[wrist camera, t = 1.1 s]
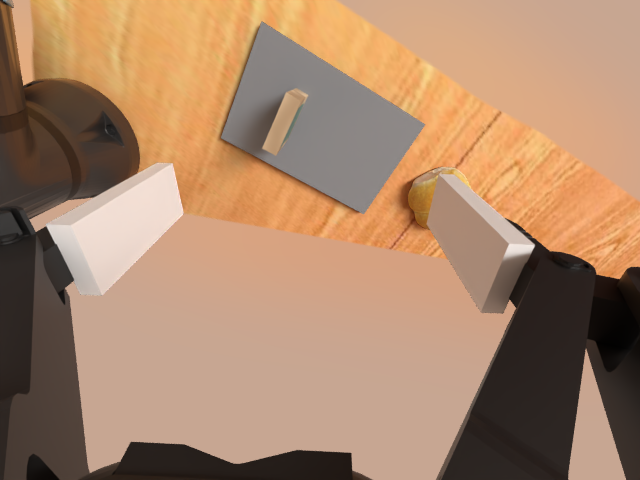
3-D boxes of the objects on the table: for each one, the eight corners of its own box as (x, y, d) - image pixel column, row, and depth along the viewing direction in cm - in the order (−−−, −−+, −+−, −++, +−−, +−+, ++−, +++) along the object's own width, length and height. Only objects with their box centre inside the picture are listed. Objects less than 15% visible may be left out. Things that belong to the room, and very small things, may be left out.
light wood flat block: (276, 134, 38) (262, 148, 31) (296, 87, 35) (286, 92, 28) (287, 140, 38) (276, 155, 31) (308, 95, 36) (301, 101, 29)
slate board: (223, 136, 40) (220, 138, 39) (264, 22, 33) (261, 21, 32) (363, 210, 44) (363, 214, 43) (422, 123, 37) (425, 124, 36)
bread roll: (422, 233, 46) (428, 246, 42) (399, 184, 42) (404, 194, 38) (476, 209, 43) (488, 221, 40) (457, 155, 39) (469, 163, 36)
